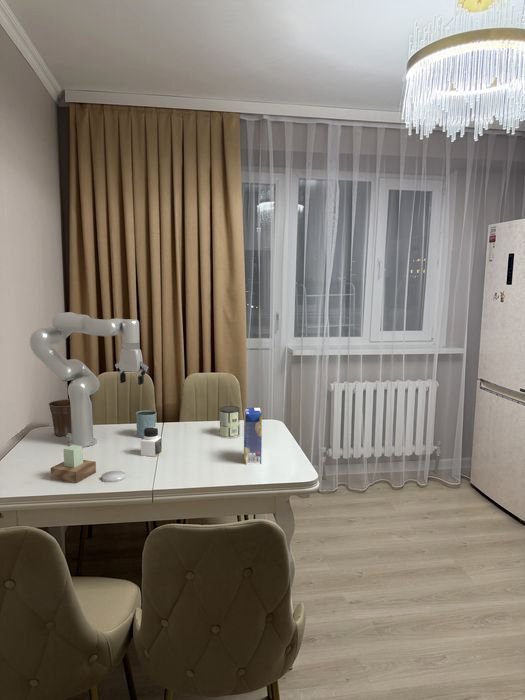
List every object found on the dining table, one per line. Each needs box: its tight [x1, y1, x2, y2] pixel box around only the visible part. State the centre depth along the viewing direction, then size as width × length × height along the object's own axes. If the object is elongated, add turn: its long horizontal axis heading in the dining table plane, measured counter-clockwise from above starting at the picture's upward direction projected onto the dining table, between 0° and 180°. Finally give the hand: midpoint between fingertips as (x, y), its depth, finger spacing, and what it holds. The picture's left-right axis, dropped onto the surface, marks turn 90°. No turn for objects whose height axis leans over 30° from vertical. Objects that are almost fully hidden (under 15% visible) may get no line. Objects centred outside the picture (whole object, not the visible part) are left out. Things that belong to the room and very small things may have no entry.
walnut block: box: [50, 459, 97, 484], centre depth 204 cm, size 12×12×5 cm
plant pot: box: [48, 398, 72, 437], centre depth 259 cm, size 16×16×16 cm
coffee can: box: [219, 405, 241, 439], centre depth 259 cm, size 10×10×14 cm
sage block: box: [63, 445, 84, 468], centre depth 203 cm, size 5×5×7 cm
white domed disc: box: [101, 470, 127, 483], centre depth 203 cm, size 9×9×2 cm
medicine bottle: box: [140, 426, 163, 458], centre depth 230 cm, size 7×7×12 cm
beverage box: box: [243, 407, 263, 465], centre depth 223 cm, size 7×11×22 cm, turn 6°
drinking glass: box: [135, 409, 157, 439], centre depth 257 cm, size 10×10×12 cm
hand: (131, 383), depth 236 cm, fingers open, 9 cm apart
